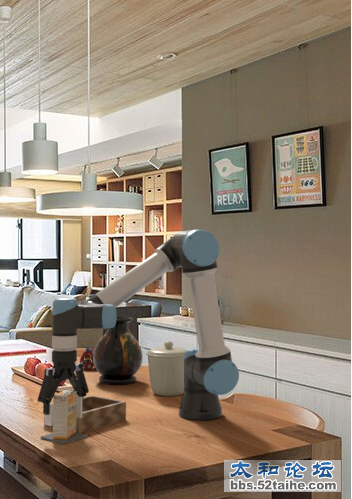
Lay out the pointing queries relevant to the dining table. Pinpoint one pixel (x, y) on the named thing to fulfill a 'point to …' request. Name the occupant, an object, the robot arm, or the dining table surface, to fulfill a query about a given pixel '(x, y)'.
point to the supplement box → (64, 414)
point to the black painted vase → (118, 354)
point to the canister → (166, 369)
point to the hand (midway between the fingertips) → (63, 421)
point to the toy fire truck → (87, 359)
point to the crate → (99, 413)
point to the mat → (63, 441)
